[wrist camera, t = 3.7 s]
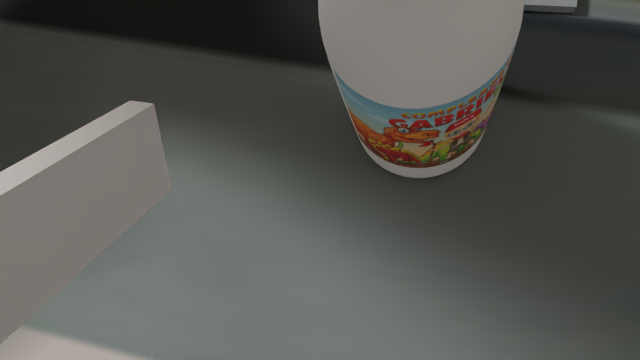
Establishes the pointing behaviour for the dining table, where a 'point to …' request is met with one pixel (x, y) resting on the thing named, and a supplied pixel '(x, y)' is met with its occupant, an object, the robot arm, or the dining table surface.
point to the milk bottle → (420, 75)
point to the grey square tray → (550, 5)
